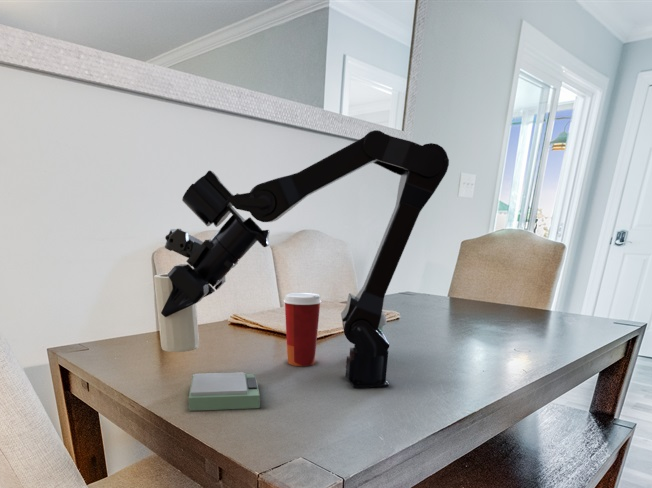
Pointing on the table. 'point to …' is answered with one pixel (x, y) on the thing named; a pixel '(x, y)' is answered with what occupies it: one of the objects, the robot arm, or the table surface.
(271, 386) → the table surface
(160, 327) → the canister
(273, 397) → the table surface
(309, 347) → the paper cup
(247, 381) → the scale
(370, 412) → the table surface
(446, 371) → the table surface
